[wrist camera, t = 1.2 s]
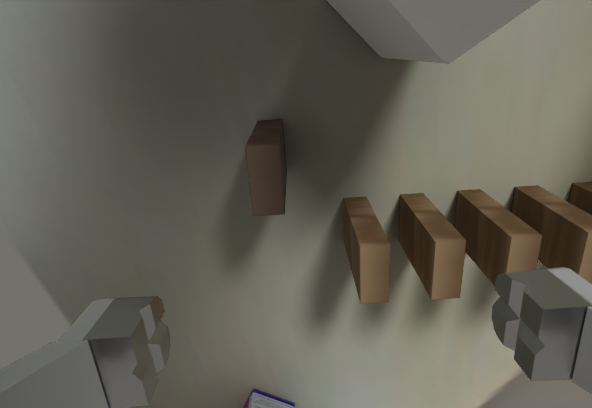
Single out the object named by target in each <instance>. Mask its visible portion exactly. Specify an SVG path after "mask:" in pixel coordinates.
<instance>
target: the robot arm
mask: <svg viewBox="0 0 592 408" xmlns="http://www.w3.org/2000/svg"><path fill="white" fill-rule="evenodd" d="M495 290H496V292H497V293H498V295H499V296H500V297H499V298H498V300H497V301H496V302H495V303H494V304H493V307H492V321H493V326H494V330H495V332H496V334H497V336H498V338H499V339H500V341H501V342H502V344H503V345H504V346H506V347H508V348H510V349H512V350H514V351H515V355H514V360H515V361H516V362H517V363H518V365H519V366H520V367H521V369H522V370H523V371H524V373H525V374H526V375H527V377H528V378H529V379H530V380H531V381H549V380H572V382H573V383H575V384H576V385H578V386H580V387H581V388H583V389H584V390H586V391H587V392H589V393H590V394H592V284H590V283H589V282H588V281H586V280H585V279H583V278H582V277H581V276H579V275H578V274H577V273H575V272H574V271H572V270H571V269H569V268H565V267H559V268H550V269H541V270H530V271H520V272H509V273H500V274H498V276H497V278H496V281H495ZM164 312H165V311H164V307H163V304H162V300H161V299H160V298H159V297H158V296H148V297H128V298H108V299H98V300H94V301H92V302H91V303H90V305H89V306H88V307H87V308H86V309H85V310H84V311H83V313H82V314H81V315H80V316H79V317H78V318H77V320H76V321H75V322H74V323H73V324H72V325H71V327H70V328H69V329H68V330H67V331H66V332H65V334H64V335H63V336H62V337H61V338H60V339H59V340H58V342H54V343H49V344H47V345H45V346H43V347H41V348H39V349H37V350H36V351H34V352H32V353H30V354H29V355H26V356H25V357H23V358H21V359H19V360H17V361H15V362H14V363H12V364H10V365H8V366H6V367H4V368H2V369H0V408H125V407H136V406H147V405H149V402H150V400H151V398H152V395H153V393H154V391H155V388H156V386H157V384H158V378H157V373H158V372H159V371H160V370H162V369H163V368H164V367H165V365H166V362H167V360H168V357H169V351H170V334H169V329H168V326H167V325H165V324H164V323H163V322H162V321H161V320H160V319H161V317H162V315H163V313H164Z"/></svg>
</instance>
